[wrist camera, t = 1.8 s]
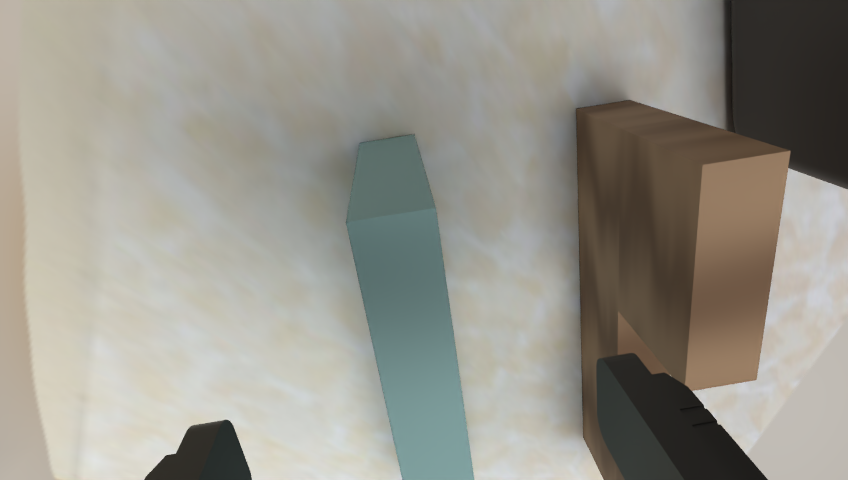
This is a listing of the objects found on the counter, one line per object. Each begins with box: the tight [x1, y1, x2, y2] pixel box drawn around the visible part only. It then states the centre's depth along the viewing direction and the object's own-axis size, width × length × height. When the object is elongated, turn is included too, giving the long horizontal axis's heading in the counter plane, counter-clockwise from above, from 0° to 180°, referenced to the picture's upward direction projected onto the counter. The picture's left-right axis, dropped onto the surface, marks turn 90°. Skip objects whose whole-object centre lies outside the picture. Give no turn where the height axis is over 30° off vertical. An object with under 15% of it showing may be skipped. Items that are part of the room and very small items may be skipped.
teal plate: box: [346, 135, 474, 480], centre depth 23 cm, size 2×20×10 cm, turn 8°
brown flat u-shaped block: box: [576, 100, 791, 480], centre depth 23 cm, size 20×2×10 cm, turn 8°
